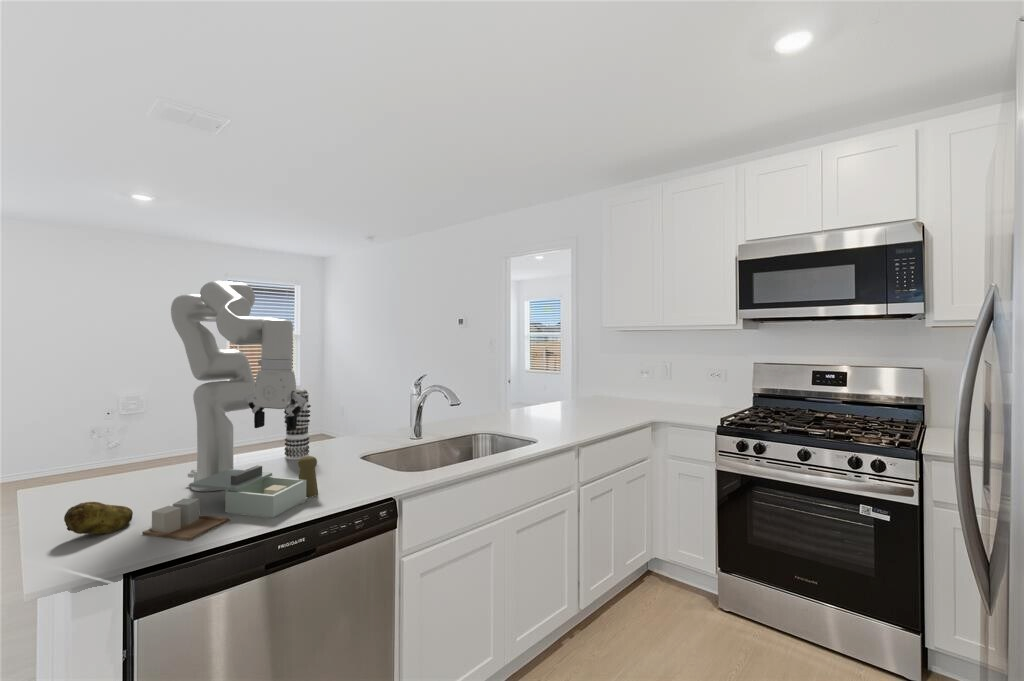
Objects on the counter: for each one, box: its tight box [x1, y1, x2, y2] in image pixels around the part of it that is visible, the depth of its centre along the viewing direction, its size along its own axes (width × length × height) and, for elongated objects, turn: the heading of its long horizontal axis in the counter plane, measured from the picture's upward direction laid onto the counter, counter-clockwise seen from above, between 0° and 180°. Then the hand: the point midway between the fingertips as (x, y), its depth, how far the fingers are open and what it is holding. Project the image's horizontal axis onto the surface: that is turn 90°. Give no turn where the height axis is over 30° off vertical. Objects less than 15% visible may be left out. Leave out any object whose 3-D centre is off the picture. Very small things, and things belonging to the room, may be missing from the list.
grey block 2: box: [172, 498, 200, 525], centre depth 124 cm, size 4×4×5 cm
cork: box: [297, 455, 319, 498], centre depth 146 cm, size 6×6×11 cm
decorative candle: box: [283, 388, 312, 460], centre depth 187 cm, size 9×9×25 cm
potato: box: [63, 501, 134, 536], centre depth 117 cm, size 8×13×8 cm, turn 138°
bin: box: [224, 476, 307, 519], centre depth 135 cm, size 14×14×6 cm
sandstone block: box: [264, 485, 287, 495], centre depth 135 cm, size 4×4×5 cm
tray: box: [141, 514, 231, 542], centre depth 120 cm, size 13×12×1 cm
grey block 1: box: [151, 505, 181, 533], centre depth 118 cm, size 4×4×5 cm
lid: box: [189, 464, 273, 491], centre depth 137 cm, size 14×14×3 cm
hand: (275, 428), depth 134 cm, fingers open, 9 cm apart
